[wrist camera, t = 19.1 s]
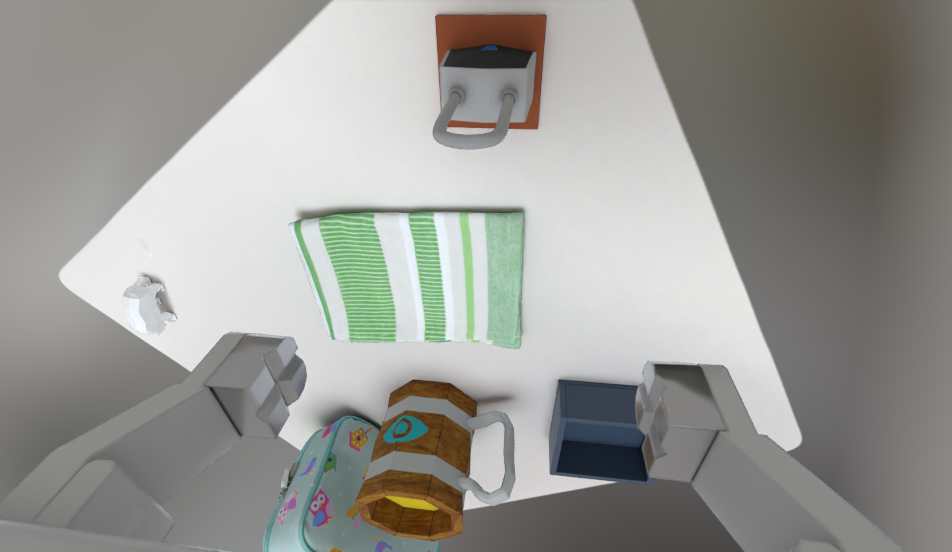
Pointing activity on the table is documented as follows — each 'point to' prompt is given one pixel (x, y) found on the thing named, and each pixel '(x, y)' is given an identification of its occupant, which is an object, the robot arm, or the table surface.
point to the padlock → (484, 92)
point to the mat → (497, 31)
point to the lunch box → (332, 497)
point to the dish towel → (416, 275)
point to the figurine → (145, 307)
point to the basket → (597, 433)
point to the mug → (428, 462)
